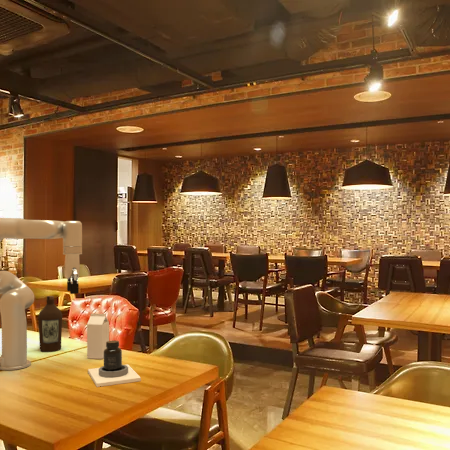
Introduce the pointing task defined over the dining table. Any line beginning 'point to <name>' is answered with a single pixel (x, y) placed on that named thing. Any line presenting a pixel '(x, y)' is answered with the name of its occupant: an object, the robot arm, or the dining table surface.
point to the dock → (113, 376)
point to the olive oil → (50, 327)
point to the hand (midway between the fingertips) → (72, 292)
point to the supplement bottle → (112, 356)
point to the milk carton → (97, 336)
